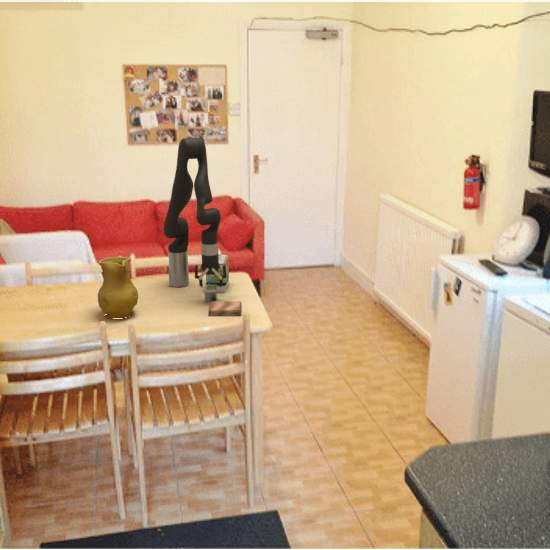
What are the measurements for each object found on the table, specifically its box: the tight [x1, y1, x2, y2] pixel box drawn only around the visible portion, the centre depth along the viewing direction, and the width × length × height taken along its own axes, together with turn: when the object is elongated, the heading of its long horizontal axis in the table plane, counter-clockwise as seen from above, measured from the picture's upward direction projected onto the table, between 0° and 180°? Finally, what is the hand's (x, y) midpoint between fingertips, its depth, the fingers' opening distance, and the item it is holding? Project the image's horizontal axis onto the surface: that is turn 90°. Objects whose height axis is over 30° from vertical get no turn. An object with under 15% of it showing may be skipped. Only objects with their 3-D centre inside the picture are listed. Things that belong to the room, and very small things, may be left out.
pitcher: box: [97, 256, 139, 319], centre depth 292 cm, size 17×19×25 cm
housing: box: [204, 283, 218, 306], centre depth 309 cm, size 5×8×7 cm, turn 2°
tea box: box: [205, 254, 230, 293], centre depth 326 cm, size 15×10×15 cm, turn 179°
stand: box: [208, 300, 242, 317], centre depth 299 cm, size 14×12×2 cm
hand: (211, 286), depth 308 cm, fingers open, 8 cm apart
